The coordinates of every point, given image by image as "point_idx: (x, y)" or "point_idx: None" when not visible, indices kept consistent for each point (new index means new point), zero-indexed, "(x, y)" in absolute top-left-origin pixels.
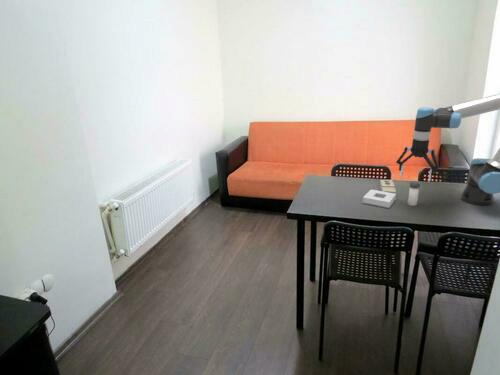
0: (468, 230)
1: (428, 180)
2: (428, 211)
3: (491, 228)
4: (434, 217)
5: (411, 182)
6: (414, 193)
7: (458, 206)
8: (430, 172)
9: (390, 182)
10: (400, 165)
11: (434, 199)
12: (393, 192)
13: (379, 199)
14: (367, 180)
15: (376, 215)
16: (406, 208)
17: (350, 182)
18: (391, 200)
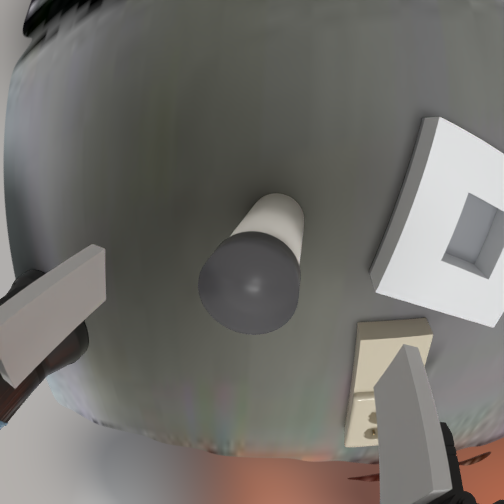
0: (71, 6)
1: (93, 253)
2: (190, 129)
3: (17, 70)
4: (166, 58)
5: (282, 314)
6: (260, 217)
7: (78, 243)
8: (12, 303)
9: (363, 428)
10: (451, 489)
11: (164, 309)
12: (375, 336)
13: (492, 165)
14: None
15: (472, 22)
16: (317, 140)
17: (491, 411)
18: (424, 164)
